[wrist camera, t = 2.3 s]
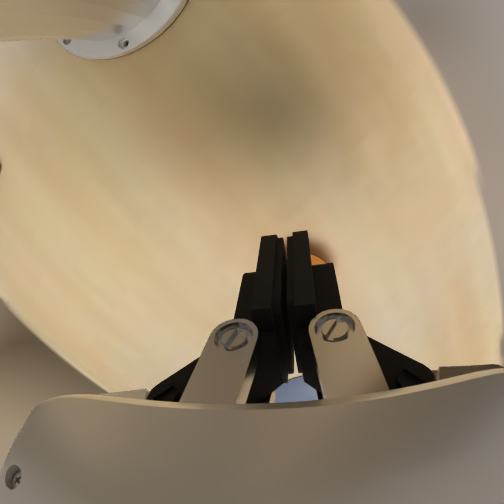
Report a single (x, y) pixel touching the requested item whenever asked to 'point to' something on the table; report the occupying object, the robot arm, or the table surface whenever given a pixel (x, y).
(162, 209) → the table surface
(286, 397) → the disc
